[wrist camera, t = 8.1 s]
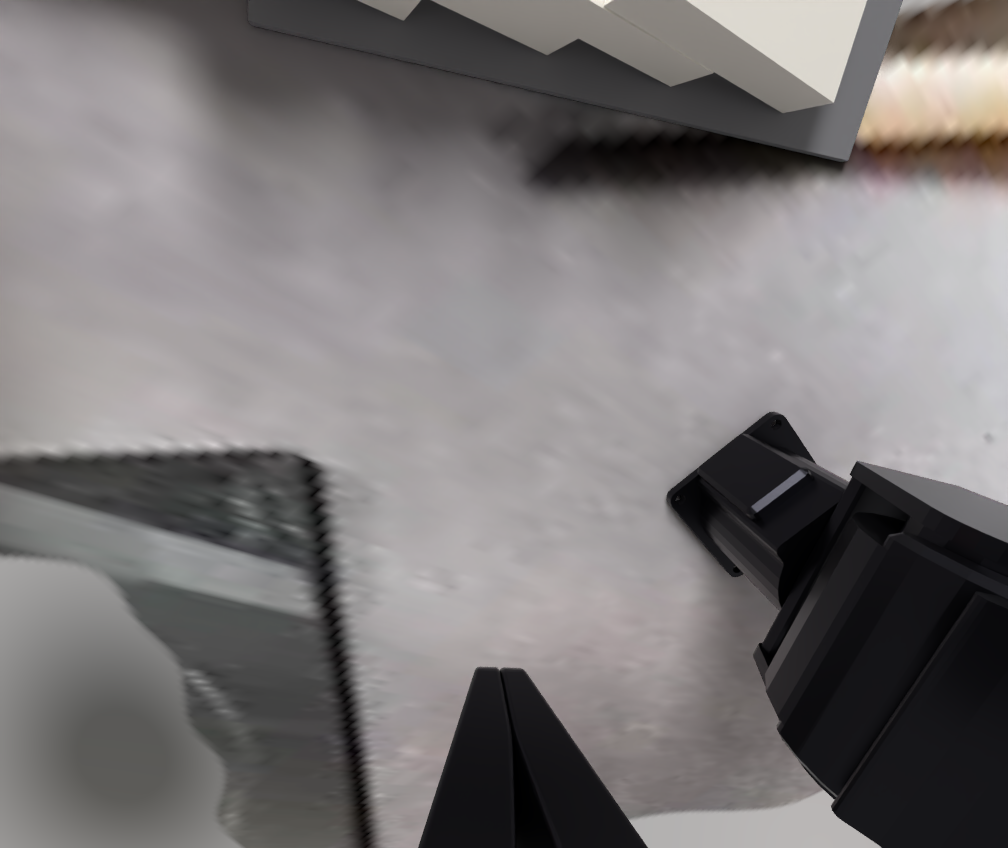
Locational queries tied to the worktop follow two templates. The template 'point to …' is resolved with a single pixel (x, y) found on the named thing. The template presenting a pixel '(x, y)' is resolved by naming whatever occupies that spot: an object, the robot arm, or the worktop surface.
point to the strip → (596, 70)
